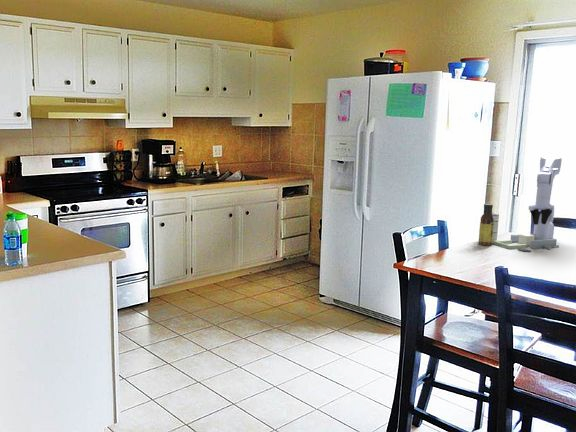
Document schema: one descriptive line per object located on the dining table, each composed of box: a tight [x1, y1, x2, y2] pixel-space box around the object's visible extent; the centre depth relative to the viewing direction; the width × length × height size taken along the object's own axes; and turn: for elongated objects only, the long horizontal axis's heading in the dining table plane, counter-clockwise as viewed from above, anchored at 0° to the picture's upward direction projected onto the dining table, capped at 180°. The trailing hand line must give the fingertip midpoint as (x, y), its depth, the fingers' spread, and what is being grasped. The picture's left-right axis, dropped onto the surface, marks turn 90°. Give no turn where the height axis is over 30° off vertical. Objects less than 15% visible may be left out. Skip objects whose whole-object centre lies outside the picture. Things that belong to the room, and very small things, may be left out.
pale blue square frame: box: [510, 233, 558, 249], centre depth 271 cm, size 15×14×4 cm
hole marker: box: [516, 248, 532, 253], centre depth 256 cm, size 6×6×1 cm
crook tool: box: [541, 244, 560, 251], centre depth 263 cm, size 10×4×1 cm, turn 112°
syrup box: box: [492, 211, 500, 243], centre depth 273 cm, size 6×6×14 cm
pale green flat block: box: [492, 239, 528, 250], centre depth 265 cm, size 10×11×2 cm
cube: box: [517, 233, 535, 247], centre depth 269 cm, size 5×5×5 cm
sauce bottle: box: [478, 203, 494, 247], centre depth 264 cm, size 7×6×20 cm
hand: (539, 224), depth 270 cm, fingers open, 5 cm apart
